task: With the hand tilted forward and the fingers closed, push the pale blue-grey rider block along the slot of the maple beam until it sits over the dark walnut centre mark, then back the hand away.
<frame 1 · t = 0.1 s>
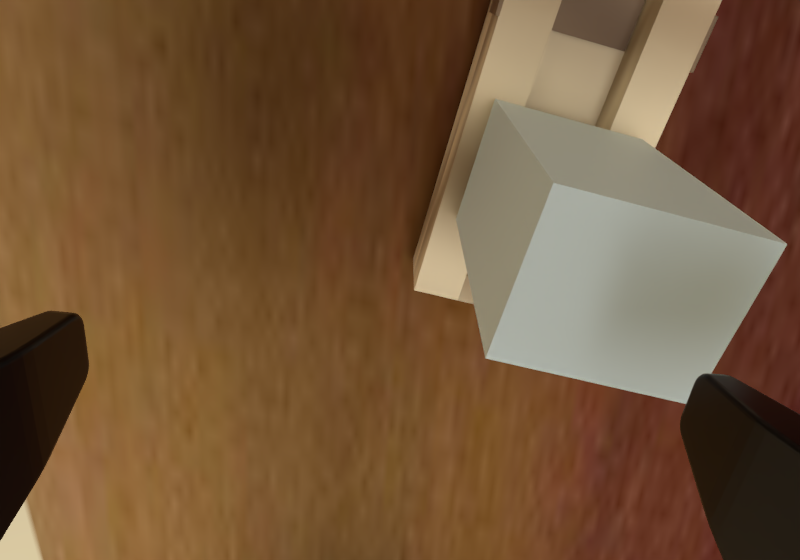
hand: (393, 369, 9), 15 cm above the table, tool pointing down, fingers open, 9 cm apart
beam: (583, 10, 20), on the table
rider: (572, 219, 17), point 6 cm above the table, slide at -5.0 cm
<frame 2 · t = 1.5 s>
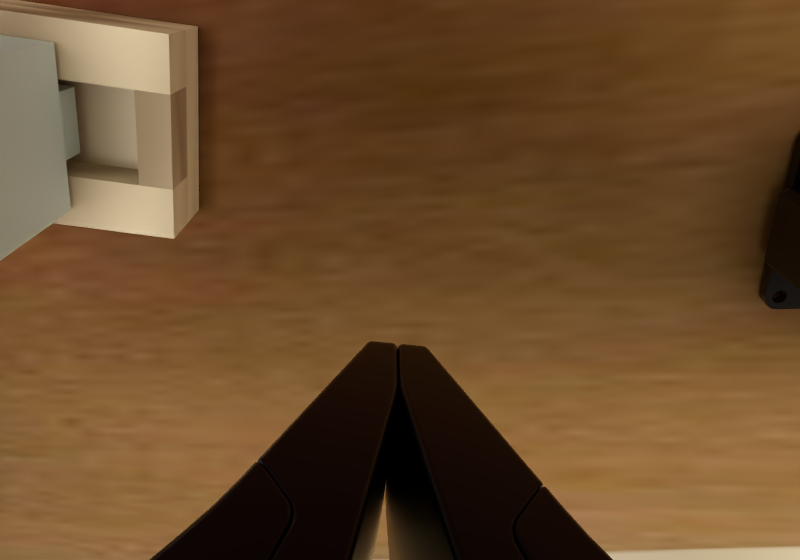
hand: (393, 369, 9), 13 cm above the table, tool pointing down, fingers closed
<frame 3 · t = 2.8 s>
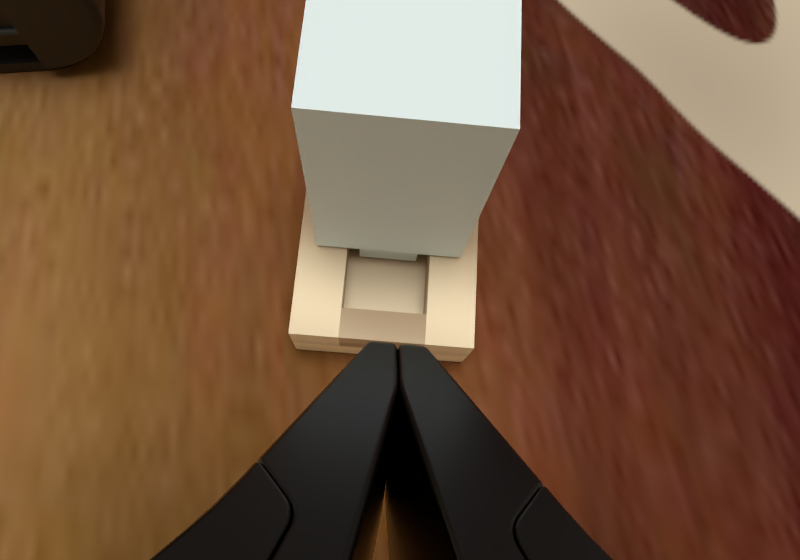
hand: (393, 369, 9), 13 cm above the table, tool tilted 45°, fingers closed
beam: (398, 114, 26), on the table
rider: (399, 146, 18), point 6 cm above the table, slide at -5.0 cm
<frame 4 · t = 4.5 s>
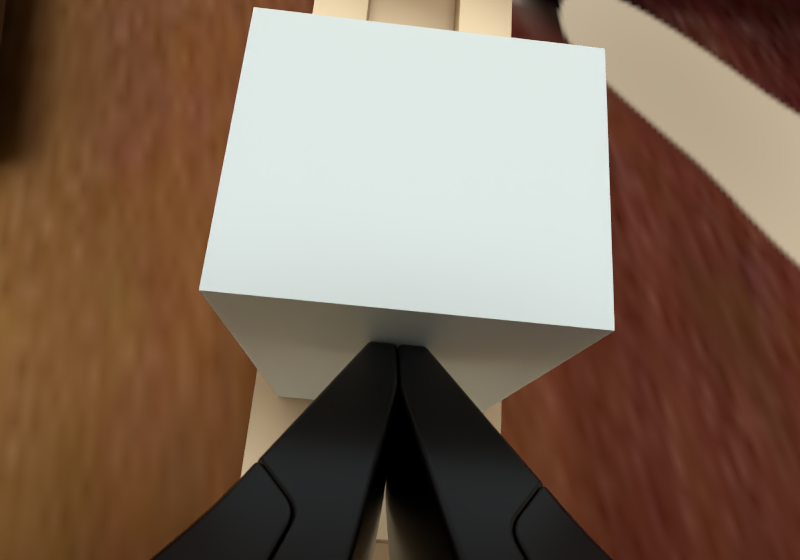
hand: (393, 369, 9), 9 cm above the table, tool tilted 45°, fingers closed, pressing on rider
beam: (392, 224, 20), on the table
rider: (395, 279, 12), point 6 cm above the table, slide at -4.0 cm, touching gripper
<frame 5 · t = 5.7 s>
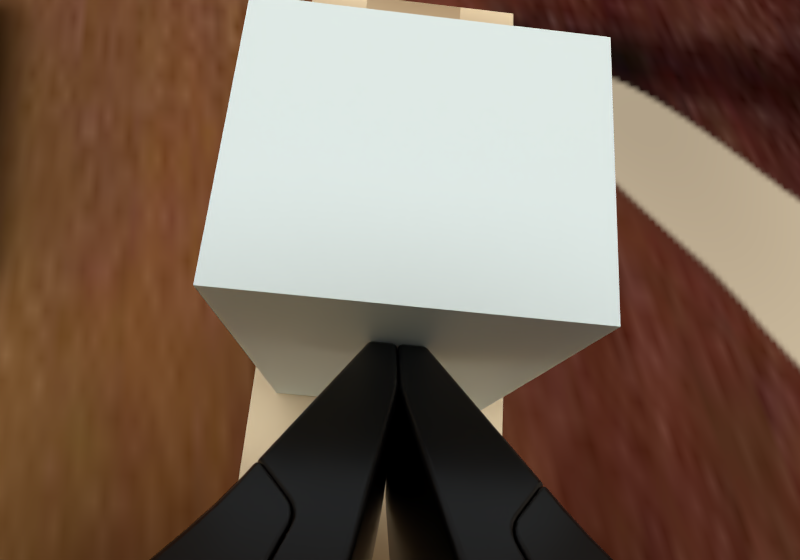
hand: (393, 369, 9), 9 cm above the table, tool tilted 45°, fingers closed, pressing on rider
beam: (380, 347, 18), on the table
rider: (395, 274, 12), point 6 cm above the table, slide at 0.1 cm, touching gripper
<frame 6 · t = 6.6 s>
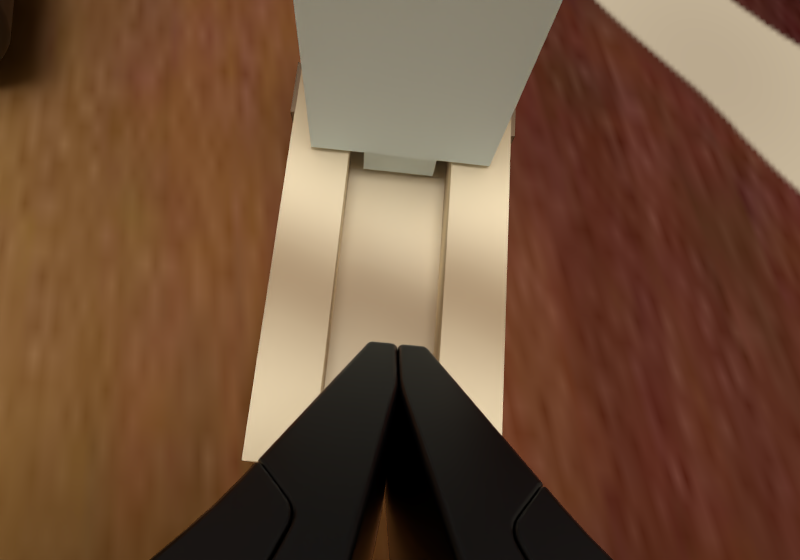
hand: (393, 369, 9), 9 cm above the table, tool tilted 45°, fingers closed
beam: (399, 146, 20), on the table
rider: (419, 2, 14), point 6 cm above the table, slide at 0.1 cm
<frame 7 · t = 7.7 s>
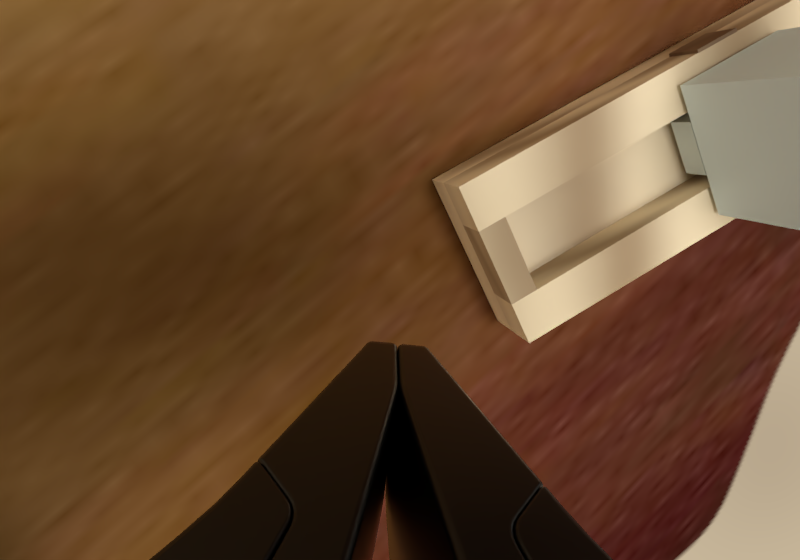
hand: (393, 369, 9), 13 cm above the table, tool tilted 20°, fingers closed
beam: (687, 125, 24), on the table
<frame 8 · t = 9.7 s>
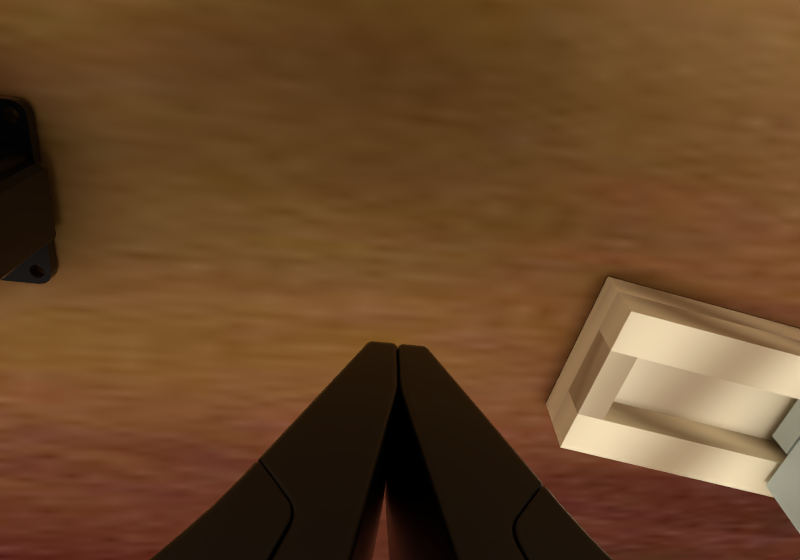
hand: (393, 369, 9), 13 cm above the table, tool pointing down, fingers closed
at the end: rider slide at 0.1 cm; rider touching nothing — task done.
